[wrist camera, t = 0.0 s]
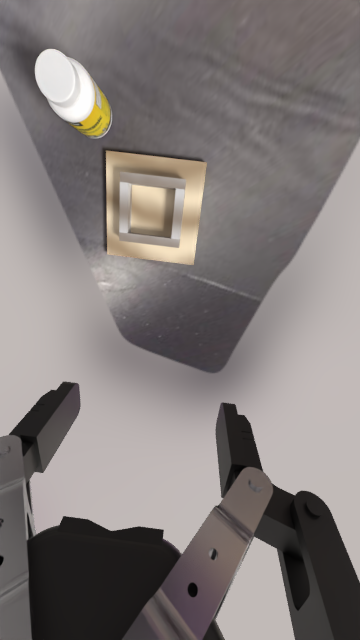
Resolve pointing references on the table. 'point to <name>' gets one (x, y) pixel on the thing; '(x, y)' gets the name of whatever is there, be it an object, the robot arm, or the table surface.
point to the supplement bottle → (73, 93)
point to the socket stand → (153, 206)
